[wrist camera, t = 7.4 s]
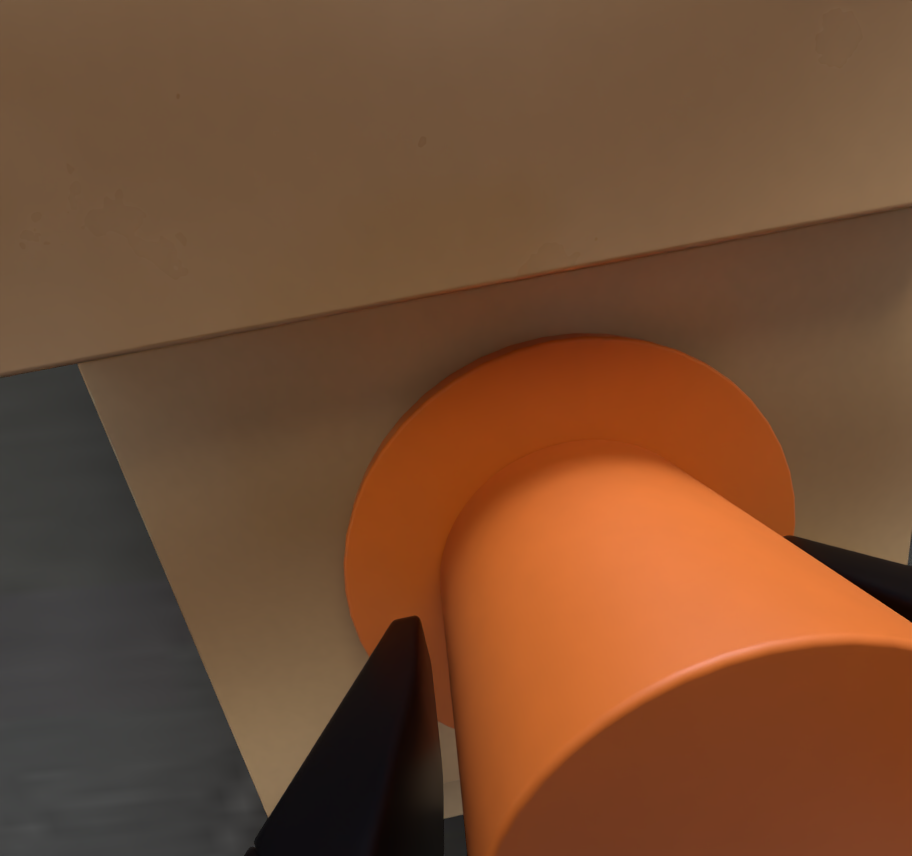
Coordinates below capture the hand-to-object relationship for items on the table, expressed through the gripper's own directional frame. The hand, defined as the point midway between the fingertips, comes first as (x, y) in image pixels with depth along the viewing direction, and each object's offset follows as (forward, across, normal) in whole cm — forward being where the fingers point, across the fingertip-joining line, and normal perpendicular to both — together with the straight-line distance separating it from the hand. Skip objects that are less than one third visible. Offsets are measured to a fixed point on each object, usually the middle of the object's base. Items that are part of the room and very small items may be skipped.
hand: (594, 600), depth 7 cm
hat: (+1, 0, 0) cm, 1 cm away
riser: (+5, 0, 0) cm, 5 cm away
